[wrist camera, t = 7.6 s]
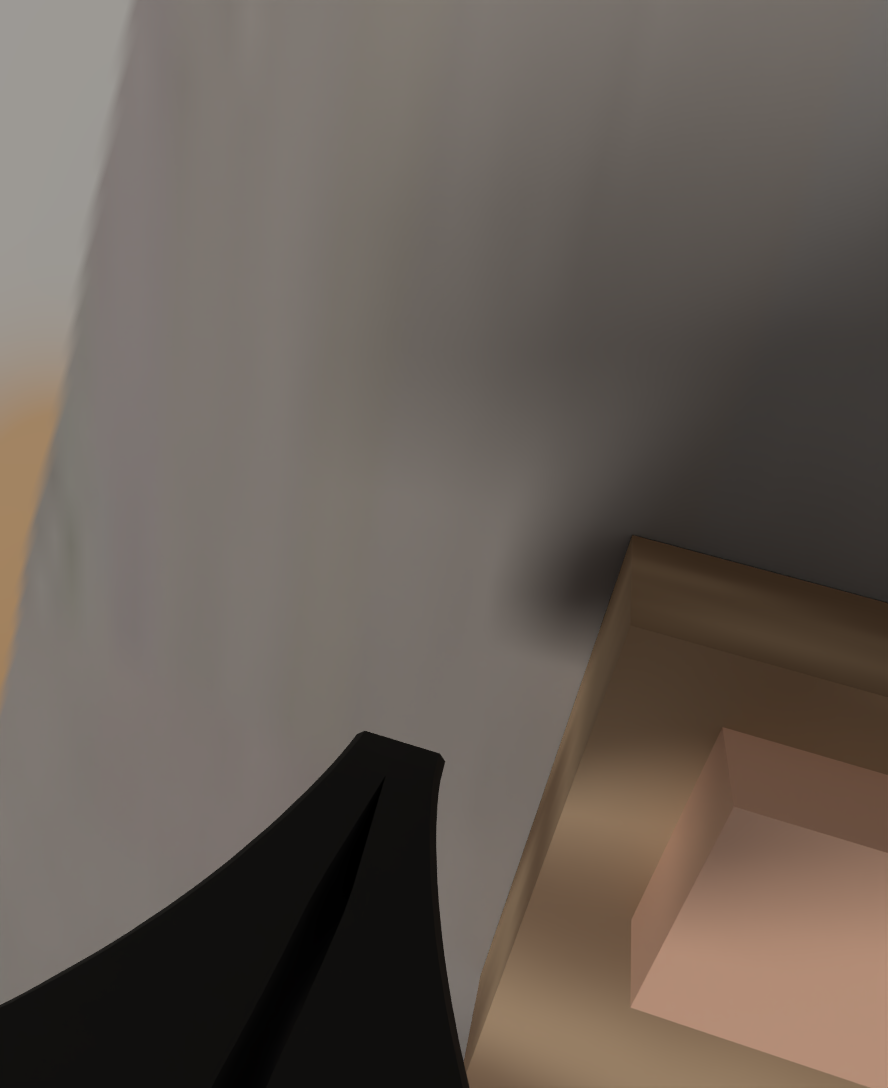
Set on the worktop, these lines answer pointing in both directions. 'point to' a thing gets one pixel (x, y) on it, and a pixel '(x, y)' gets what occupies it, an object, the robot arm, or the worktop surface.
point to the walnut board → (662, 810)
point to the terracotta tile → (774, 910)
